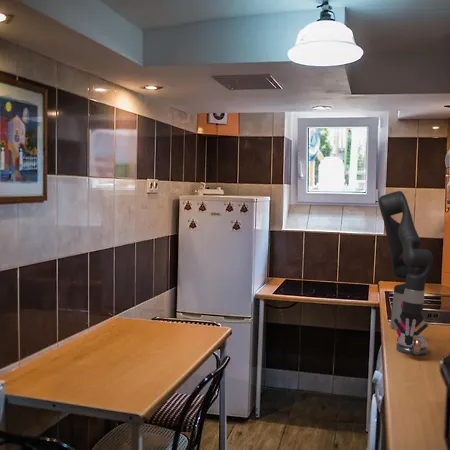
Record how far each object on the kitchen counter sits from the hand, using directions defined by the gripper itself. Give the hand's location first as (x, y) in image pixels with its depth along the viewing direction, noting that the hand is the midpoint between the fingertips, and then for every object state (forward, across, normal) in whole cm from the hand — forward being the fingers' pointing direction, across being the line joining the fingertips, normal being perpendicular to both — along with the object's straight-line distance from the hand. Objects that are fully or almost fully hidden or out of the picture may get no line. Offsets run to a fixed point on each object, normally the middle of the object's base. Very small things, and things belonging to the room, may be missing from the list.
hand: (408, 344), depth 213 cm
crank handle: (+3, +2, +9) cm, 9 cm away
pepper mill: (+6, -3, +25) cm, 26 cm away
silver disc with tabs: (+6, +1, +13) cm, 14 cm away
